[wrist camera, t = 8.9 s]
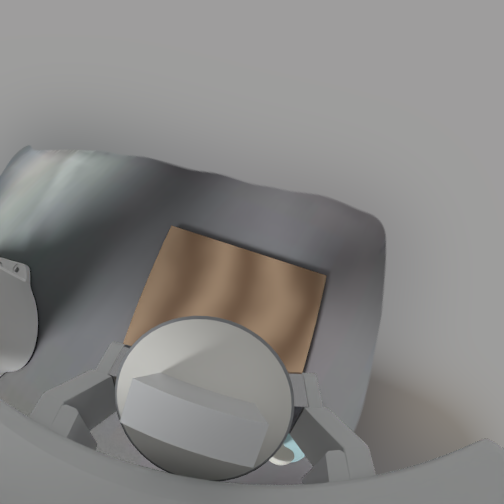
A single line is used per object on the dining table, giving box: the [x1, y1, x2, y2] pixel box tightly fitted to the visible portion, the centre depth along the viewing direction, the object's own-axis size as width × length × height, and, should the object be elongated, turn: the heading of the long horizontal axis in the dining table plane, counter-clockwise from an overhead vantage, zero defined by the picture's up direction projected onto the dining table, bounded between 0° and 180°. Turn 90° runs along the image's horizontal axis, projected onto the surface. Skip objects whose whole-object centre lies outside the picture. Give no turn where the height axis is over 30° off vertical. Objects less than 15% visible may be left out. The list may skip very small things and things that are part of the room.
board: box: [123, 226, 326, 373], centre depth 30 cm, size 20×16×1 cm
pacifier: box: [269, 433, 305, 465], centre depth 23 cm, size 7×6×6 cm
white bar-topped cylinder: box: [115, 316, 294, 481], centre depth 9 cm, size 5×5×11 cm
